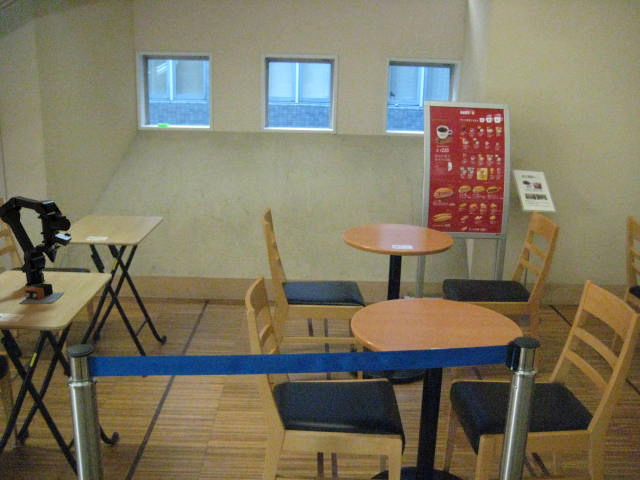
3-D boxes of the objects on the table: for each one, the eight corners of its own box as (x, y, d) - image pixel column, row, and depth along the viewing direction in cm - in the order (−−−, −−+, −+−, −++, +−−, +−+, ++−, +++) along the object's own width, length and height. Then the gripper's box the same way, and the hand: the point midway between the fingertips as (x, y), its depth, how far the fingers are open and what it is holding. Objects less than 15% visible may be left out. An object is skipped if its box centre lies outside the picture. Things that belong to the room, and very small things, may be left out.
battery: (39, 282, 256) (22, 290, 247) (52, 283, 254) (36, 291, 245) (40, 291, 257) (24, 299, 248) (53, 293, 256) (37, 301, 246)
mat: (19, 303, 244) (19, 302, 244) (32, 293, 256) (32, 293, 256) (53, 303, 245) (52, 302, 245) (64, 293, 256) (64, 292, 256)
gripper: (57, 234, 249) (61, 269, 253) (76, 224, 267) (79, 256, 271) (31, 234, 249) (36, 268, 253) (52, 223, 267) (55, 256, 271)
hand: (53, 262), depth 262 cm, fingers closed
